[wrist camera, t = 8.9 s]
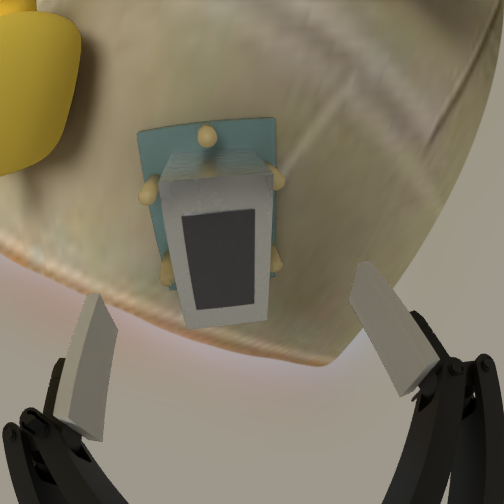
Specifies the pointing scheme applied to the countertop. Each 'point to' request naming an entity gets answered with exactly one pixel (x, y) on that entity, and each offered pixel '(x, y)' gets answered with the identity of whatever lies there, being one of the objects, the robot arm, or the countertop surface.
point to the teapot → (34, 81)
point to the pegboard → (198, 139)
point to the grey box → (219, 234)
